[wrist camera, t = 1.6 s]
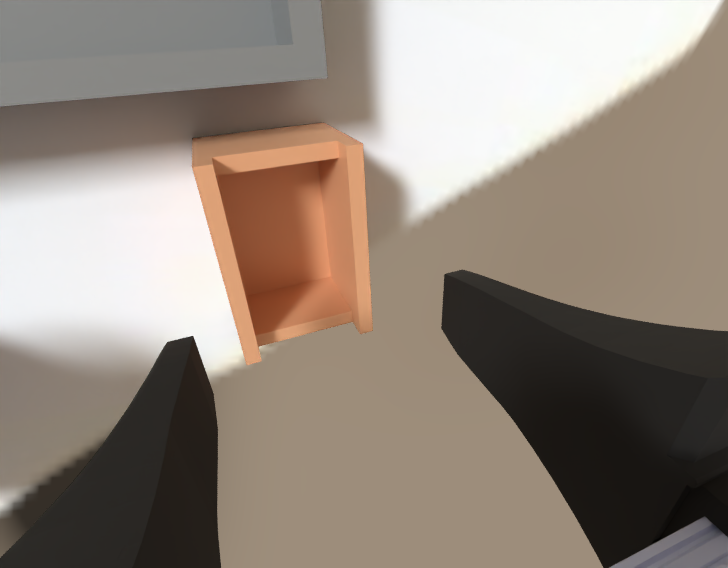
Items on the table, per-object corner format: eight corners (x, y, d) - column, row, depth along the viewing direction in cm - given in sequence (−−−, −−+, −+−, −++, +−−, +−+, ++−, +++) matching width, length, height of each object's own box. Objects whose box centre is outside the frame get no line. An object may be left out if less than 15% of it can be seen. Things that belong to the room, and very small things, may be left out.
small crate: (339, 278, 22) (372, 330, 18) (235, 302, 20) (246, 365, 16) (323, 122, 18) (363, 143, 14) (192, 138, 16) (192, 167, 12)
